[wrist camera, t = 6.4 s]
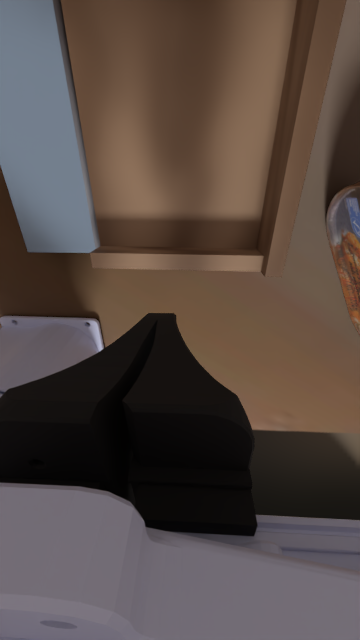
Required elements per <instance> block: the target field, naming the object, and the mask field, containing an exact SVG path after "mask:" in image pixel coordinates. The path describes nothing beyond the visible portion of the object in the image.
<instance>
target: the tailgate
mask: <svg viewBox="0 0 360 640" xmlns="http://www.w3.org/2000/svg"><path fill="white" fill-rule="evenodd" d="M0 166H1V169H2V172H3V175H4V178H5V181H6V185H7V188H8V191H9V194H10V197H11V200H12V203H13V207H14V210H15V213H16V216H17V219H18V222H19V225H20V229H21V232H22V235H23V238H24V241H25V244H26V247H27V251H28V252H48V253H90V252H92V251H93V250H95V249H97V248H98V247H100V240H99V234H98V227H97V221H96V215H95V209H94V203H93V196H92V190H91V184H90V178H89V172H88V165H87V159H86V153H85V147H84V141H83V135H82V128H81V122H80V116H79V110H78V104H77V97H76V91H75V85H74V79H73V73H72V66H71V60H70V54H69V48H68V42H67V35H66V29H65V23H64V17H63V11H62V4H61V0H0Z"/></svg>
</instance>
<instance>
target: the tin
mask: <svg viewBox="0 0 360 640" xmlns="http://www.w3.org/2000/svg"><path fill="white" fill-rule="evenodd" d="M326 228H327V236H328V240H329V244H330V248H331V251H332V255H333V258H334V261H335V265H336V269H337V272H338V275H339V279H340V282H341V286H342V290H343V294H344V297H345V300H346V304H347V308H348V311H349V314H350V317H351V320H352V322H353V324H354V326H355V328H356V330H357V332H358V333H359V335H360V181H359V182H358V183H356V184H353V185H350V186H347V187H345V188H343V189H341V190H340V191H339V192H338V193H337V194H336V195H335V196H334V197H333V199H332V200H331V202H330V205H329V208H328V211H327V217H326Z"/></svg>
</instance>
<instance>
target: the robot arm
mask: <svg viewBox="0 0 360 640" xmlns="http://www.w3.org/2000/svg"><path fill="white" fill-rule="evenodd" d="M15 320H16V321H17V322H16V321H15ZM86 322H88V323H90V325H88V324H87V323H86ZM0 323H1V326H2V328H0V640H360V520H343V519H324V518H305V517H286V516H266V515H256V514H255V509H254V503H253V498H252V493H251V489H252V480H251V475H250V470H249V467H250V463H251V459H252V455H253V451H254V435H253V431H252V428H251V425H250V422H249V420H248V417H247V415H246V413H245V410H244V408H243V406H242V404H241V402H240V400H239V398H238V396H237V395H236V394H234V393H233V392H231V391H230V390H229V389H227V388H226V387H224V386H223V385H222V384H220V383H219V382H218V381H216V380H215V379H214V378H213V377H212V376H211V375H210V374H209V373H208V372H207V371H206V370H205V369H204V368H203V367H202V366H201V365H200V364H199V362H198V361H197V360H196V359H195V357H194V356H193V355H192V353H191V352H190V350H189V349H188V347H187V346H186V344H185V342H184V340H183V338H182V336H181V334H180V332H179V329H178V326H177V323H176V315H175V314H174V313H148V314H147V315H146V316H145V317H144V318H142V319H141V320H140V321H139V322H138V323H137V324H136V325H135V326H134V327H132V328H131V329H130V330H129V331H128V332H126V333H125V334H124V335H123V336H121V337H120V338H119V339H117V340H116V341H115V342H113V343H112V344H110V345H109V346H107V347H106V348H104V345H103V340H102V335H101V329H100V324H99V321H98V320H97V319H94V318H67V317H33V316H3V317H1V318H0Z"/></svg>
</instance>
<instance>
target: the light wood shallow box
mask: <svg viewBox="0 0 360 640" xmlns="http://www.w3.org/2000/svg"><path fill="white" fill-rule="evenodd" d="M61 4H62V11H63V17H64V23H65V29H66V35H67V42H68V48H69V54H70V60H71V66H72V73H73V79H74V85H75V91H76V97H77V104H78V110H79V116H80V122H81V128H82V135H83V141H84V147H85V153H86V159H87V165H88V172H89V178H90V184H91V190H92V196H93V203H94V209H95V215H96V221H97V227H98V234H99V240H100V247H98V248H97V249H95V250H93V251H92V252H90V257H91V263H92V268H110V269H159V270H209V271H258V272H262V274H263V275H264V276H265V277H282V274H283V270H284V266H285V261H286V257H287V253H288V248H289V244H290V240H291V236H292V231H293V227H294V223H295V218H296V214H297V210H298V206H299V201H300V197H301V193H302V189H303V184H304V180H305V176H306V171H307V167H308V163H309V159H310V154H311V150H312V146H313V141H314V137H315V133H316V129H317V124H318V120H319V116H320V111H321V107H322V103H323V99H324V94H325V90H326V86H327V81H328V77H329V73H330V69H331V64H332V60H333V56H334V51H335V47H336V43H337V39H338V34H339V30H340V26H341V22H342V17H343V13H344V9H345V4H346V0H61Z"/></svg>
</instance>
